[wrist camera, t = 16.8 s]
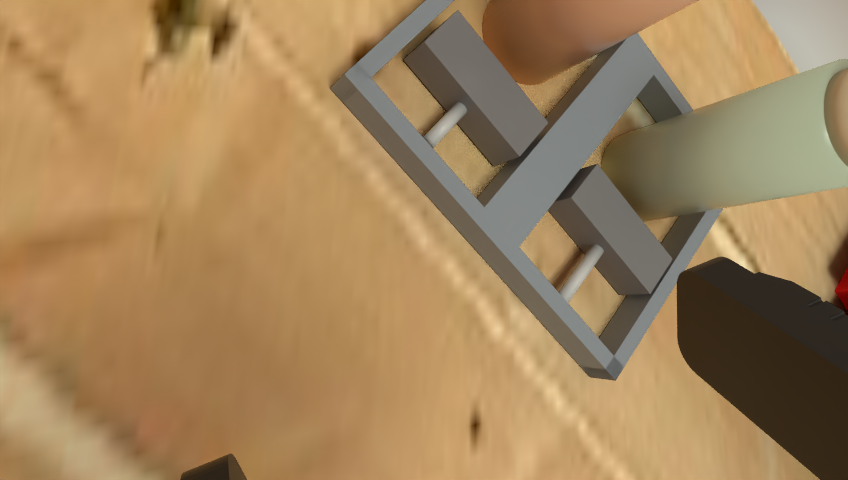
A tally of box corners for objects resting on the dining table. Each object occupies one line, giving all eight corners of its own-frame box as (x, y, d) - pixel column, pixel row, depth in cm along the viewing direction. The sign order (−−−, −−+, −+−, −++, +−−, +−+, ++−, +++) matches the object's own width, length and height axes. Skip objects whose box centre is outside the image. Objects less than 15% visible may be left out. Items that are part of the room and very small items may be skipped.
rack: (329, 88, 33) (346, 71, 31) (518, -83, 40) (543, -107, 38) (589, 377, 39) (620, 381, 36) (714, 183, 46) (747, 176, 43)
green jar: (585, 174, 40) (822, 105, 27) (630, 115, 43) (869, 26, 29) (639, 240, 42) (889, 206, 28) (680, 181, 44) (928, 123, 31)
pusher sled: (368, 92, 34) (387, 76, 32) (435, 29, 36) (457, 9, 34) (464, 200, 36) (488, 192, 34) (521, 134, 38) (548, 122, 36)
